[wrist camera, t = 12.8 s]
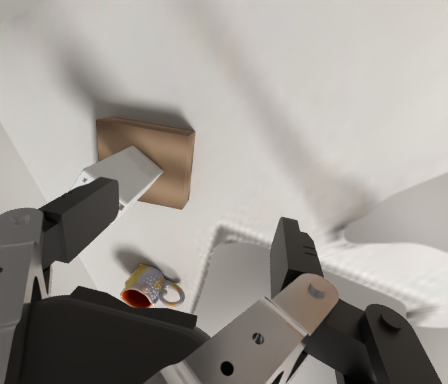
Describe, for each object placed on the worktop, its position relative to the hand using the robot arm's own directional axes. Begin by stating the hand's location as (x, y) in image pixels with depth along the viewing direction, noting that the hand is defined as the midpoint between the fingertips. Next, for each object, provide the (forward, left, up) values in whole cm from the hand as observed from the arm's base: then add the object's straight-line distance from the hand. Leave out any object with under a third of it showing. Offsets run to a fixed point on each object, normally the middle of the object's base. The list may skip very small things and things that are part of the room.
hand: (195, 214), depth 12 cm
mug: (+34, -11, -29) cm, 46 cm away
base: (+8, -14, -28) cm, 33 cm away
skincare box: (+8, -14, -25) cm, 29 cm away
